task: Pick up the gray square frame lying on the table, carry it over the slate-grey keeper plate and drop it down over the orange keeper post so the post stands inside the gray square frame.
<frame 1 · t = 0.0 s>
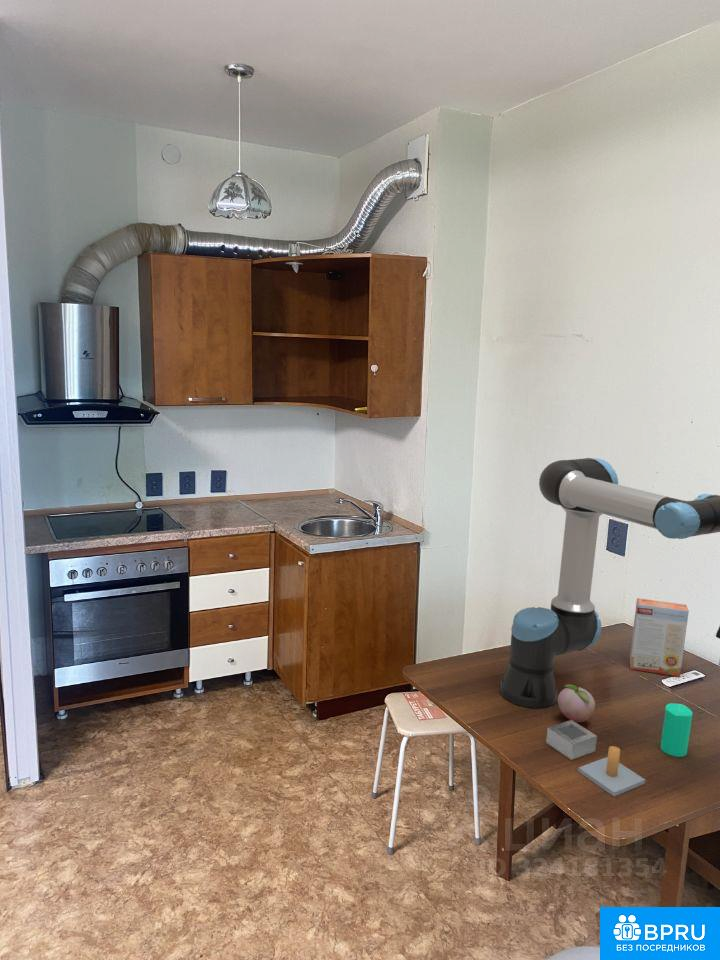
keeper: (611, 777, 159), on the table
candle: (673, 750, 171), on the table
cracker box: (653, 670, 214), on the table
gray square frame: (570, 746, 170), on the table
decorative fruit: (574, 722, 182), on the table
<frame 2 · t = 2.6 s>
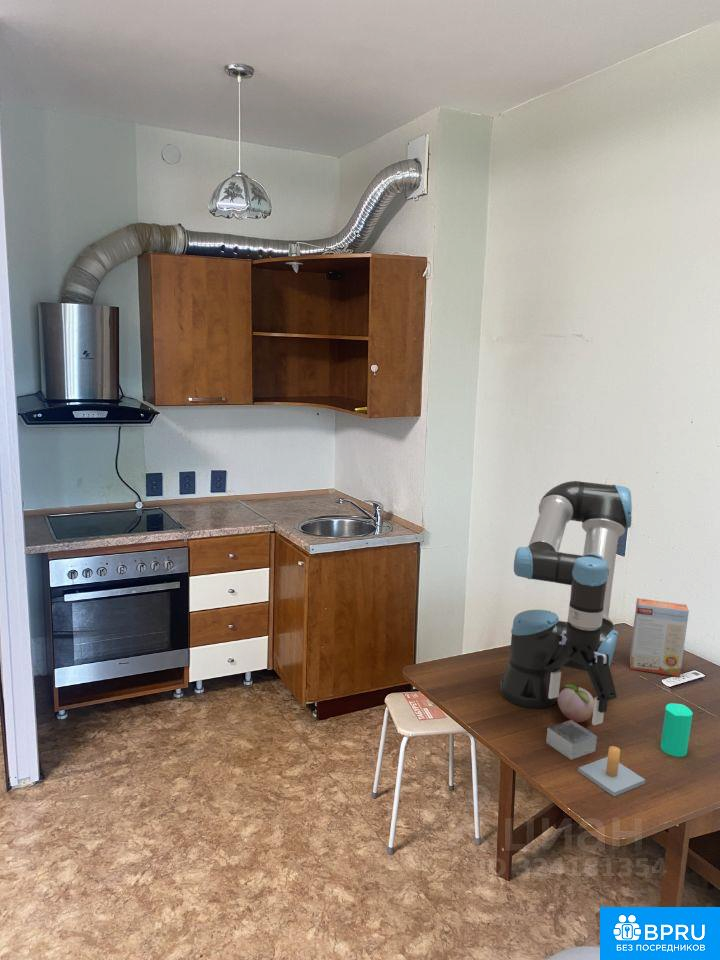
hand: (574, 710, 168), 10 cm above the table, fingers open, 13 cm apart
nothing on the table moved.
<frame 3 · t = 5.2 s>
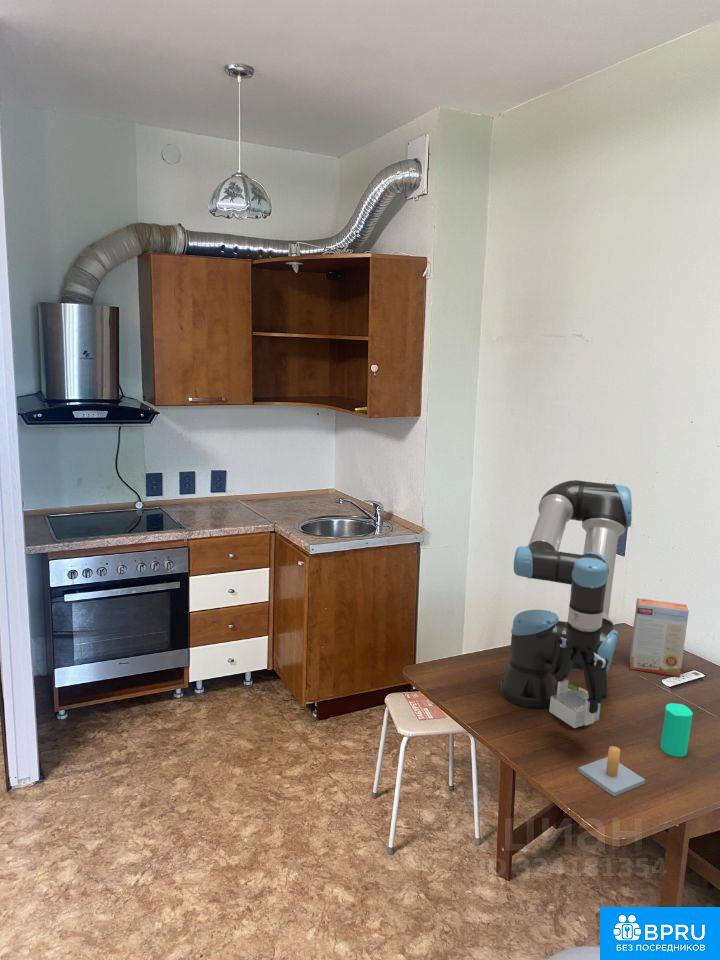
hand: (574, 714, 169), 8 cm above the table, fingers closed on gray square frame, 8 cm apart
gray square frame: (573, 715, 169), point 8 cm above the table, touching gripper
everything else where it was.
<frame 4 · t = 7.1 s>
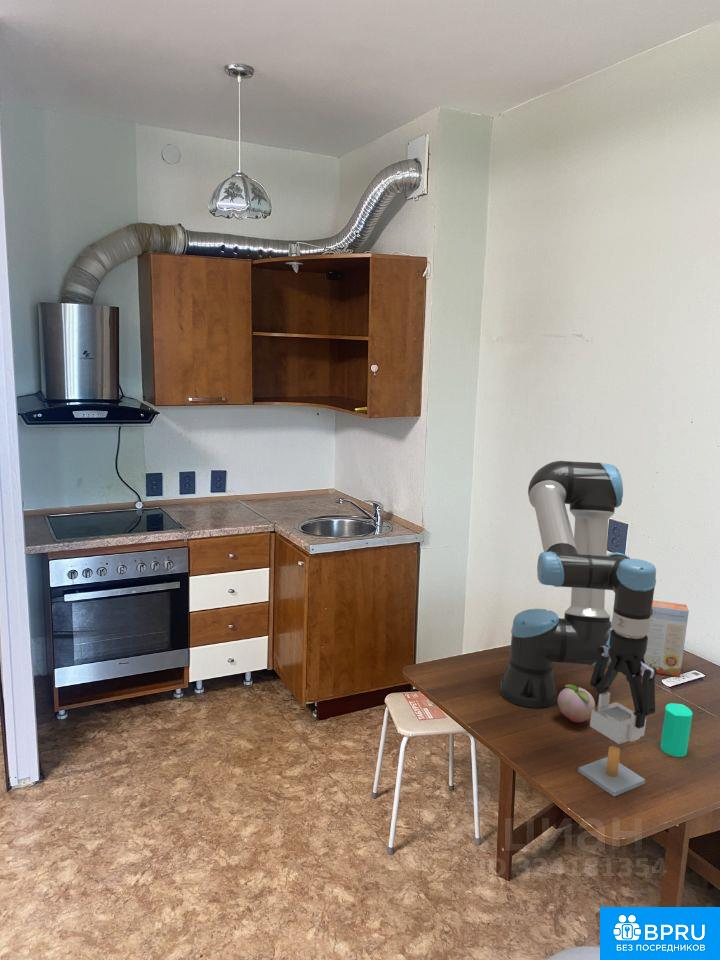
hand: (617, 729, 156), 12 cm above the table, fingers closed on gray square frame, 8 cm apart
gray square frame: (616, 730, 156), point 12 cm above the table, touching gripper
everything else where it was.
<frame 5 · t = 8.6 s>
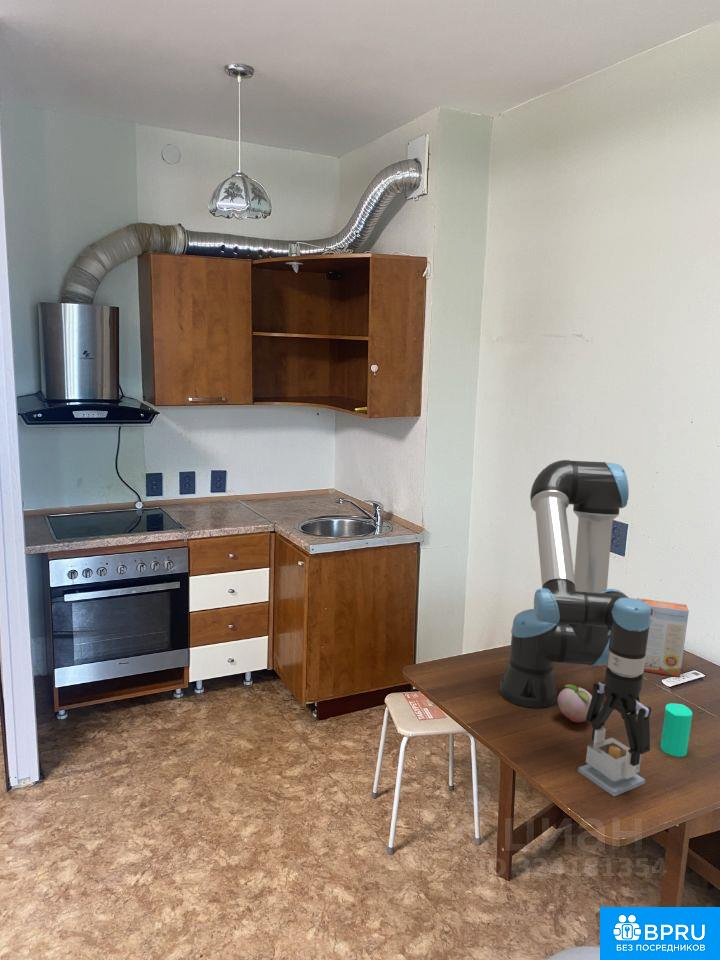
hand: (612, 765, 158), 3 cm above the table, fingers closed on gray square frame, 8 cm apart
gray square frame: (612, 766, 158), point 3 cm above the table, touching gripper
everything else where it was.
when the fingers open (1 cm above the table, at t = 9.3 s): gray square frame stays where it is, resting on keeper.
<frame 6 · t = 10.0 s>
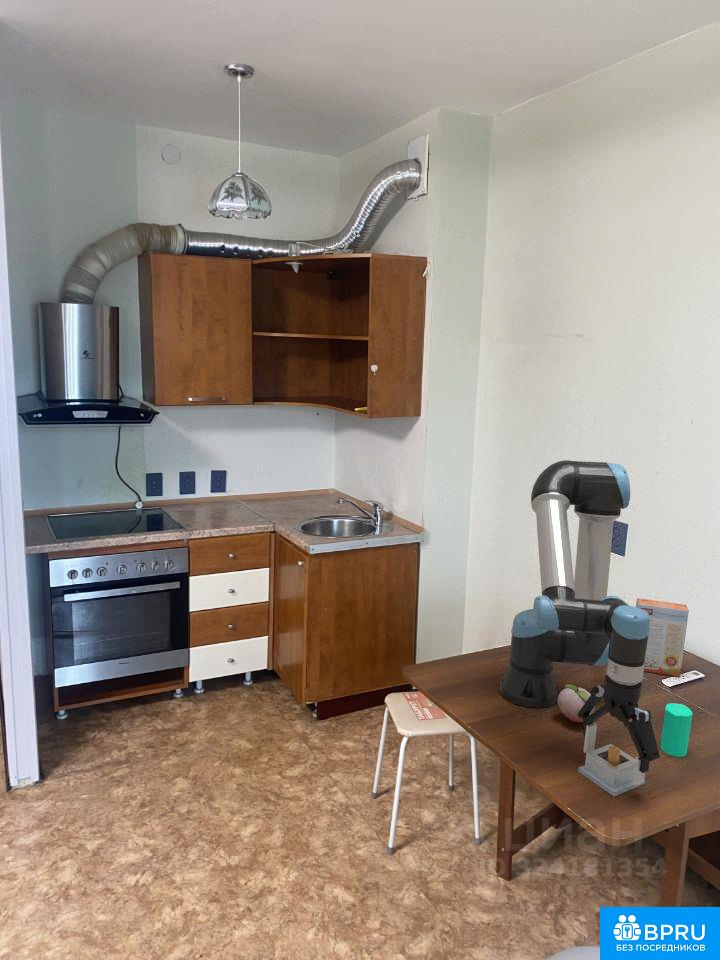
hand: (612, 766, 158), 3 cm above the table, fingers open, 13 cm apart
gray square frame: (611, 773, 158), point 1 cm above the table, touching keeper
everything else where it was.
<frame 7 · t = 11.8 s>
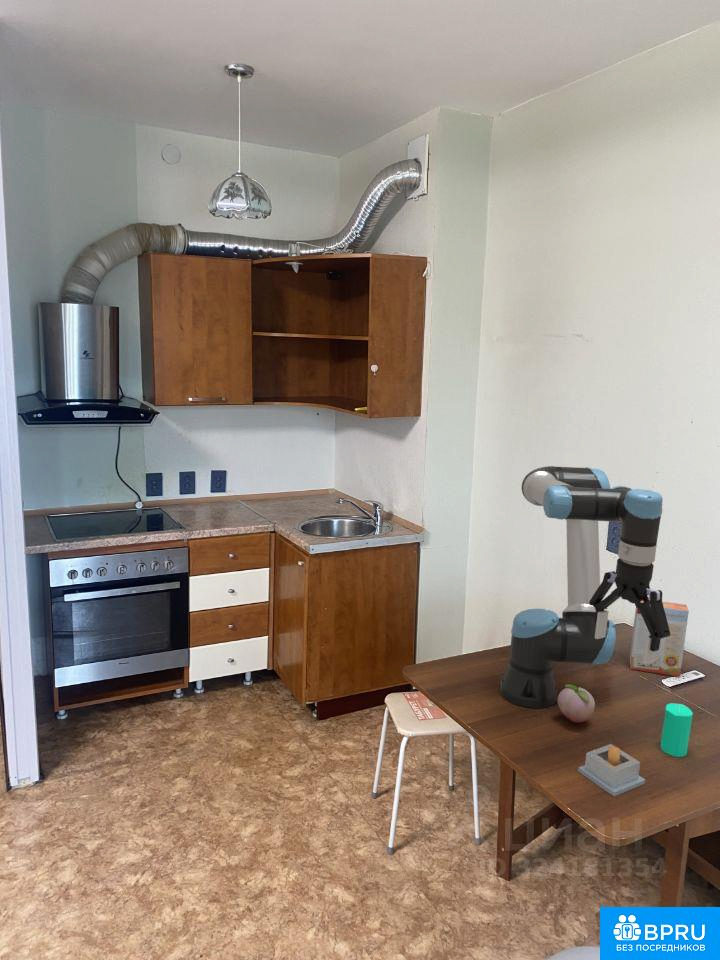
hand: (623, 649, 160), 27 cm above the table, fingers open, 13 cm apart
nothing on the table moved.
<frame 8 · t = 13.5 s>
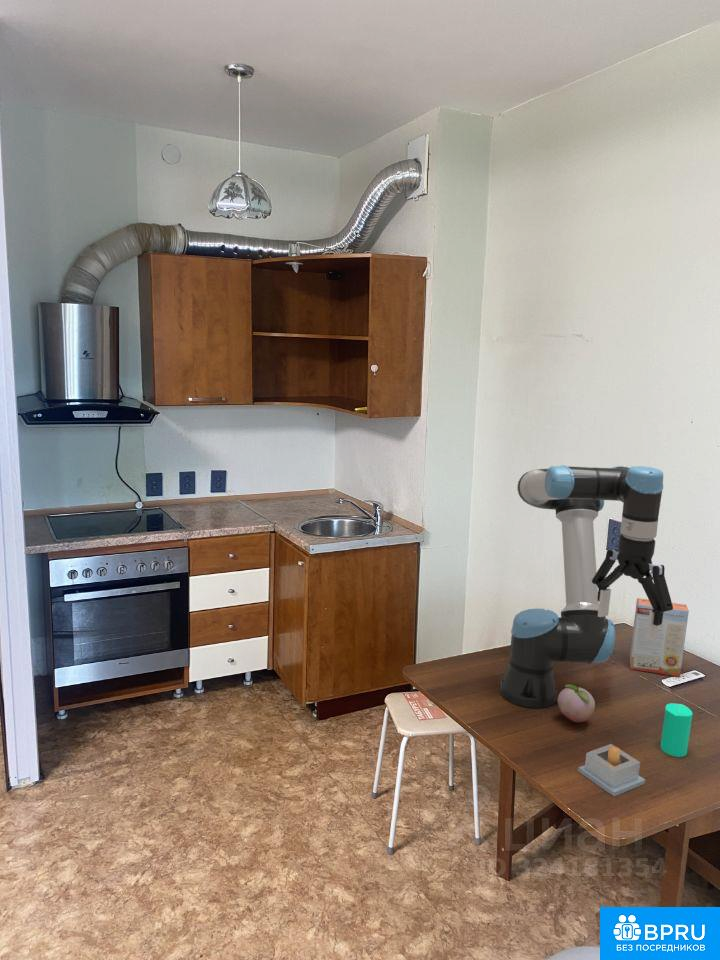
hand: (626, 626, 162), 32 cm above the table, fingers open, 13 cm apart
nothing on the table moved.
at the end: gray square frame 0.2 cm off-centre on the keeper, point 1.0 cm above the keeper's base; the gripper is holding nothing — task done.
